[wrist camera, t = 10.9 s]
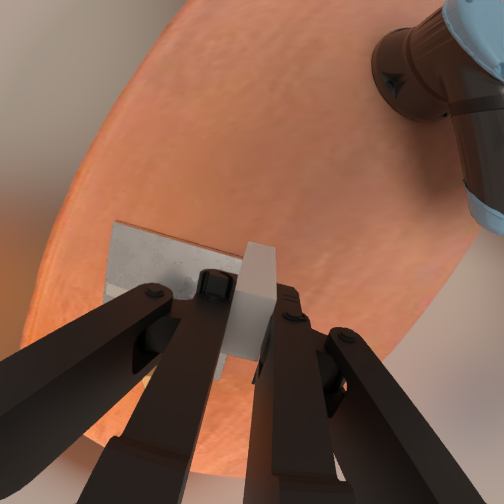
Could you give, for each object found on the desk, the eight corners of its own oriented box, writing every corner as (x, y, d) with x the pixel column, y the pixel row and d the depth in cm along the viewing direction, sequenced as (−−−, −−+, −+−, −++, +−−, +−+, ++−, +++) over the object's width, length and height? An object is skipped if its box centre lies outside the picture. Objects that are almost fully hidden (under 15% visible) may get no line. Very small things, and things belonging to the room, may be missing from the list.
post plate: (256, 261, 46) (255, 275, 40) (219, 376, 52) (215, 398, 46) (116, 220, 45) (98, 228, 39) (103, 338, 51) (88, 355, 45)
